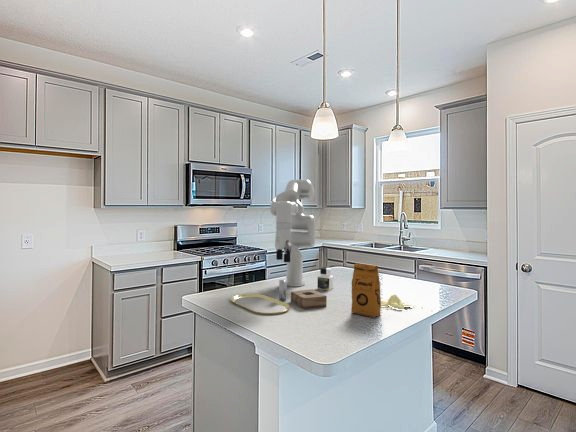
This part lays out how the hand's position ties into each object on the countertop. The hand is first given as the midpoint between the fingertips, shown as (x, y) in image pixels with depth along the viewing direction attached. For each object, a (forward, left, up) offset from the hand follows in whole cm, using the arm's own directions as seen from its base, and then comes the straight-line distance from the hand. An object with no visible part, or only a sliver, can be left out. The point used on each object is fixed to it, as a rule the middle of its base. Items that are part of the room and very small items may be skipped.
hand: (283, 260), depth 172 cm
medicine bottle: (-14, +33, -20) cm, 41 cm away
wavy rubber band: (+2, -13, -21) cm, 24 cm away
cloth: (+30, +45, -21) cm, 58 cm away
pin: (0, 0, -20) cm, 20 cm away
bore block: (+10, +9, -20) cm, 24 cm away
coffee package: (+34, +25, -20) cm, 47 cm away
